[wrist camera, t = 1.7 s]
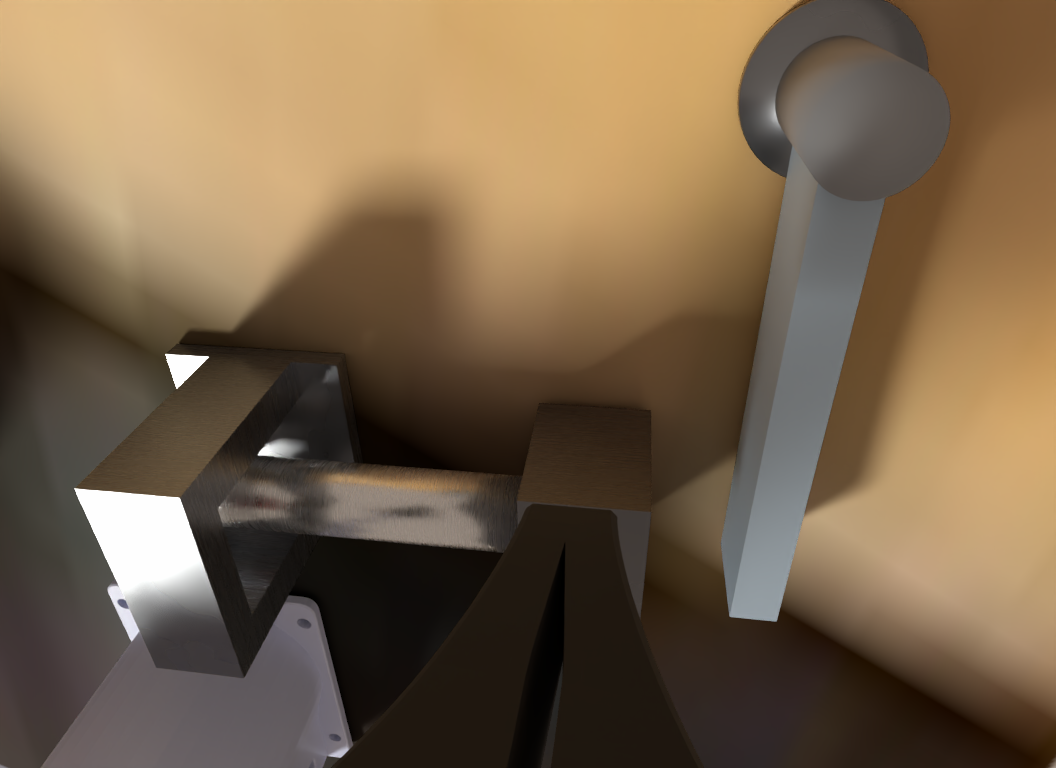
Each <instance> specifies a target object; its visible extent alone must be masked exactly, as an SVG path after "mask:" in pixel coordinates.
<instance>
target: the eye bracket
mask: <svg viewBox="0 0 1056 768" xmlns="http://www.w3.org/2000/svg"><path fill="white" fill-rule="evenodd" d="M166 357H167V360H168V364H169V367H170V370H171V373H172V376H173V379H174V382H175V385H176V388H177V389H176V390H175V391H174V392H173V393H172V394H171V395H170V396H169V397H168V398H166V399H165V400H164V401H163V402H162V403H161V404H160V405H159V406H158V407H157V408H156V409H155V410H154V411H153V412H152V413H151V414H150V415H149V416H148V417H147V418H146V419H145V420H144V421H143V422H142V423H141V424H140V425H139V426H138V427H137V428H136V429H135V430H134V431H133V432H132V433H131V434H130V435H129V436H128V437H127V438H126V439H125V440H124V441H123V442H122V443H121V444H120V445H118V446H117V447H116V448H115V449H114V450H113V451H112V452H111V453H110V454H109V455H108V456H107V457H106V458H105V459H104V460H103V461H102V462H101V463H100V464H99V465H98V466H97V467H96V468H95V469H94V470H93V471H92V472H91V473H90V474H89V475H88V476H87V477H86V478H85V479H84V480H83V481H82V482H81V483H80V484H79V485H78V486H77V487H76V488H75V491H76V493H77V495H78V498H79V500H80V502H81V504H82V506H83V509H84V511H85V513H86V515H87V517H88V519H89V522H90V524H91V526H92V528H93V530H94V533H95V535H96V537H97V539H98V541H99V544H100V546H101V548H102V550H103V552H104V554H105V557H106V559H107V561H108V563H109V565H110V568H111V570H112V572H113V574H114V576H115V579H116V581H117V583H118V585H119V587H120V589H121V592H122V594H123V596H124V598H125V600H126V603H127V605H128V607H129V609H130V611H131V614H132V616H133V618H134V620H135V622H136V624H137V627H138V629H139V631H140V633H141V635H142V638H143V640H144V642H145V644H146V646H147V649H148V651H149V653H150V655H151V657H152V659H153V662H154V664H155V666H156V668H163V669H171V670H179V671H187V672H196V673H204V674H212V675H220V676H229V677H237V678H245V676H246V674H247V672H248V670H249V668H250V667H251V665H252V663H253V661H254V659H255V657H256V655H257V653H258V652H259V650H260V648H261V646H262V644H263V642H264V640H265V639H266V637H267V635H268V633H269V631H270V629H271V627H272V626H273V624H274V622H275V620H276V618H277V616H278V614H279V613H280V611H281V609H282V607H283V605H284V603H285V601H286V600H287V598H288V596H289V594H290V592H291V590H292V588H293V586H294V585H295V583H296V581H297V579H298V577H299V575H300V573H301V572H302V570H303V568H304V566H305V564H306V562H307V560H308V559H309V557H310V555H311V553H312V551H313V549H314V547H315V546H316V544H317V542H318V540H319V538H320V535H309V534H298V533H288V532H277V531H266V530H256V529H245V528H234V527H224V526H223V524H222V521H221V518H220V515H219V512H218V508H219V506H220V505H221V504H222V502H223V501H224V500H225V498H226V497H227V495H228V494H229V493H230V491H231V490H232V489H233V487H234V486H235V485H236V483H237V482H238V481H239V479H240V478H241V477H242V475H243V474H244V472H245V471H246V470H247V468H248V467H249V466H250V464H251V463H252V462H253V460H254V459H255V458H256V456H257V455H263V456H276V457H288V458H301V459H313V460H326V461H338V462H351V463H363V459H362V454H361V448H360V442H359V436H358V430H357V425H356V419H355V413H354V407H353V401H352V396H351V390H350V384H349V378H348V373H347V367H346V361H345V355H344V354H336V353H320V352H303V351H287V350H270V349H254V348H237V347H221V346H204V345H188V344H176V345H175V346H174V347H173V348H172V349H171V350H170V351H169V352H167V353H166Z"/></svg>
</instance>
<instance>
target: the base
mask: <svg viewBox="0 0 1056 768" xmlns="http://www.w3.org/2000/svg"><path fill="white" fill-rule="evenodd" d="M842 35H847V36H855V37H859V38H862V39H864V40H867V41H869V42H871V43H873V44H875V45H876V46H878V47H880V48H882V49H884V50H886V51H888V52H890V53H892V54H894V55H896V56H898V57H900V58H902V59H904V60H906V61H908V62H910V63H912V64H914V65H915V66H917V67H919V68H921V69H923V70H925V71H926V72H929V69H928V57H927V53H926V48H925V45H924V42H923V40H922V37H921V35H920V33H919V31H918V30H917V28H916V26H915V25H914V23H913V22H912V21H911V20H910V19H909V17H908V16H907V15H906V14H905V13H903V12H902V11H901V10H900V9H899V8H897V7H896V6H894V5H892V4H890V3H889V2H887V1H884V0H810V1H808V2H806V3H804V4H802V5H800V6H798V7H796V8H794V9H793V10H791V11H790V12H788V13H787V14H785V15H784V16H783V17H782V18H780V19H779V20H778V21H777V22H775V23H774V24H773V25H772V26H771V27H770V29H769V30H768V31H767V32H766V33H765V34H764V35H763V36H762V38H761V39H760V40H759V42H758V43H757V44H756V46H755V48H754V49H753V51H752V53H751V54H750V56H749V59H748V61H747V63H746V65H745V67H744V70H743V73H742V77H741V80H740V85H739V90H738V115H739V121H740V125H741V128H742V131H743V134H744V137H745V139H746V141H747V143H748V145H749V146H750V148H751V150H752V151H753V153H754V154H755V155H756V157H757V158H758V159H759V160H760V161H761V162H762V163H763V164H764V165H765V166H767V167H768V168H769V169H771V170H772V171H774V172H776V173H777V174H779V175H781V176H783V177H786V178H787V172H788V167H789V161H790V156H791V150H792V144H791V143H790V141H789V140H788V138H787V137H786V135H785V134H784V132H783V131H782V129H781V127H780V125H779V123H778V120H777V116H776V111H775V98H776V92H777V87H778V85H779V82H780V79H781V77H782V75H783V73H784V71H785V70H786V68H787V67H788V65H789V64H790V63H791V62H792V60H793V59H794V58H795V57H796V56H797V55H798V54H799V53H800V52H802V51H803V50H804V49H806V48H807V47H809V46H810V45H812V44H813V43H816V42H818V41H820V40H822V39H825V38H828V37H833V36H842Z"/></svg>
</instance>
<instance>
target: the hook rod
mask: <svg viewBox="0 0 1056 768" xmlns="http://www.w3.org/2000/svg"><path fill="white" fill-rule="evenodd" d="M533 503H534V504H545V505H557V506H569V507H581V508H592V509H604V510H611V511H612V512H613V513H614V514H615V515H616V516H617V524H618V534H619V541H620V548H621V552H622V557H623V562H624V566H625V570H626V574H627V578H628V582H629V585H630V589H631V592H632V596H633V599H634V602H635V605H636V608H637V611H638V614H639V617H640V615H641V606H642V596H643V587H644V577H645V568H646V558H647V549H648V539H649V529H650V520H651V410H637V409H622V408H607V407H592V406H577V405H562V404H547V403H539V406H538V411H537V415H536V420H535V424H534V428H533V433H532V437H531V442H530V446H529V450H528V455H527V459H526V464H525V468H524V472H523V476H513V475H501V474H488V473H476V472H463V471H451V470H438V469H426V468H413V467H401V466H388V465H376V464H363V463H351V462H338V461H326V460H313V459H301V458H288V457H276V456H263V455H257V456H256V458H255V459H254V460H253V462H252V463H251V464H250V466H249V467H248V468H247V470H246V471H245V472H244V474H243V475H242V477H241V478H240V479H239V481H238V482H237V483H236V485H235V486H234V487H233V489H232V490H231V491H230V493H229V494H228V495H227V497H226V498H225V500H224V501H223V502H222V504H221V505H220V506H219V508H218V512H219V515H220V518H221V521H222V524H223V526H224V527H234V528H245V529H256V530H266V531H277V532H288V533H298V534H309V535H320V536H330V537H341V538H352V539H362V540H373V541H384V542H394V543H405V544H416V545H426V546H437V547H448V548H458V549H469V550H480V551H490V552H501V553H504V551H505V550H506V548H507V546H508V544H509V542H510V540H511V539H512V537H513V535H514V533H515V531H516V529H517V527H518V525H519V523H520V521H521V518H522V516H523V514H524V511H525V509H526V508H527V507H528V506H530V505H531V504H533Z"/></svg>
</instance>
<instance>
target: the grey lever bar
mask: <svg viewBox="0 0 1056 768" xmlns="http://www.w3.org/2000/svg"><path fill="white" fill-rule="evenodd" d="M775 111H776V116H777V120H778V123H779V125H780V127H781V129H782V131H783V132H784V134H785V135H786V137H787V138H788V140H789V141H790V143H791V144H792V150H791V156H790V161H789V167H788V172H787V178H786V183H785V189H784V195H783V200H782V206H781V211H780V217H779V222H778V228H777V234H776V239H775V245H774V250H773V256H772V261H771V267H770V273H769V278H768V284H767V289H766V295H765V300H764V306H763V312H762V317H761V323H760V328H759V334H758V339H757V345H756V351H755V356H754V362H753V367H752V373H751V378H750V384H749V389H748V395H747V401H746V406H745V412H744V417H743V423H742V428H741V434H740V440H739V445H738V451H737V456H736V462H735V467H734V473H733V479H732V484H731V490H730V495H729V501H728V506H727V512H726V518H725V523H724V529H723V534H722V540H721V549H722V557H723V566H724V574H725V582H726V591H727V599H728V607H729V616H730V617H737V618H747V619H757V620H767V621H777V618H778V614H779V610H780V606H781V602H782V598H783V594H784V591H785V587H786V583H787V579H788V575H789V571H790V567H791V563H792V559H793V556H794V552H795V548H796V544H797V540H798V536H799V532H800V528H801V524H802V521H803V517H804V513H805V509H806V505H807V501H808V497H809V493H810V489H811V486H812V482H813V478H814V474H815V470H816V466H817V462H818V458H819V454H820V451H821V447H822V443H823V439H824V435H825V431H826V427H827V423H828V419H829V416H830V412H831V408H832V404H833V400H834V396H835V392H836V388H837V384H838V381H839V377H840V373H841V369H842V365H843V361H844V357H845V353H846V349H847V346H848V342H849V338H850V334H851V330H852V326H853V322H854V318H855V314H856V311H857V307H858V303H859V299H860V295H861V291H862V287H863V283H864V279H865V276H866V272H867V268H868V264H869V260H870V256H871V252H872V248H873V244H874V241H875V237H876V233H877V229H878V225H879V221H880V217H881V213H882V209H883V206H884V202H885V198H886V197H889V196H892V195H894V194H897V193H899V192H901V191H903V190H904V189H906V188H908V187H909V186H911V185H912V184H914V183H915V182H916V181H917V180H919V179H920V178H921V177H922V176H923V175H924V174H925V173H926V172H927V171H928V170H929V169H930V168H931V166H932V165H933V164H934V163H935V161H936V159H937V158H938V156H939V155H940V153H941V151H942V149H943V147H944V145H945V142H946V139H947V136H948V132H949V127H950V108H949V103H948V99H947V97H946V94H945V92H944V90H943V88H942V87H941V85H940V84H939V83H938V81H937V80H936V79H935V78H934V77H933V76H932V75H930V74H929V73H928V72H926V71H925V70H923V69H921V68H919V67H917V66H915V65H914V64H912V63H910V62H908V61H906V60H904V59H902V58H900V57H898V56H896V55H894V54H892V53H890V52H888V51H886V50H884V49H882V48H880V47H878V46H876V45H875V44H873V43H871V42H869V41H867V40H864V39H862V38H859V37H855V36H847V35H842V36H833V37H828V38H825V39H822V40H820V41H818V42H816V43H813V44H812V45H810V46H809V47H807V48H806V49H804V50H803V51H802V52H800V53H799V54H798V55H797V56H796V57H795V58H794V59H793V60H792V62H791V63H790V64H789V65H788V67H787V68H786V70H785V71H784V73H783V75H782V77H781V79H780V82H779V85H778V87H777V92H776V98H775Z"/></svg>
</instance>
